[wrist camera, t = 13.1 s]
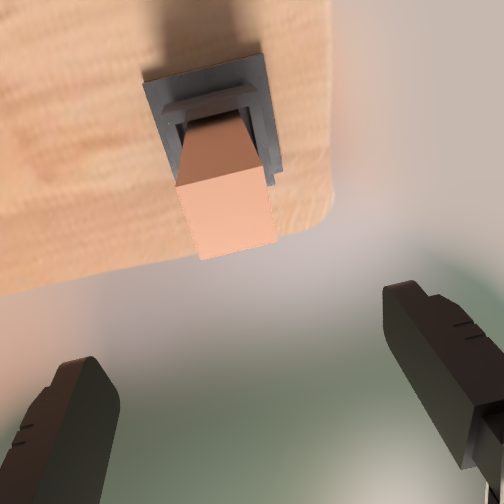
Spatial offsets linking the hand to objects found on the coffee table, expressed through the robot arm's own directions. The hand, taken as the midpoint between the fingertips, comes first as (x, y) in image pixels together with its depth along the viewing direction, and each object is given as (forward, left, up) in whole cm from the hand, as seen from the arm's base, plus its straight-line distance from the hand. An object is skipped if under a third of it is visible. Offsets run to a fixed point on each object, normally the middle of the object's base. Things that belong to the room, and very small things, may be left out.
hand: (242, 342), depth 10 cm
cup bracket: (0, 0, -26) cm, 26 cm away
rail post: (0, 0, -22) cm, 22 cm away
